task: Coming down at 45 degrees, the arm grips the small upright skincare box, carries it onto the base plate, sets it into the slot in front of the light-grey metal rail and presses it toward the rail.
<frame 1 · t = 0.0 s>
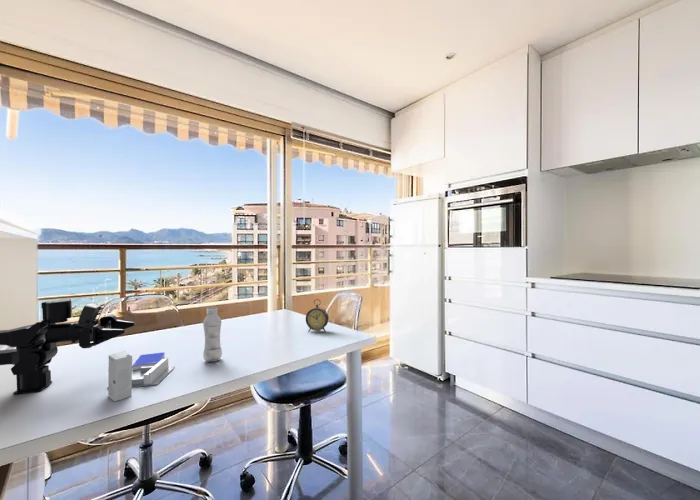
hand: (129, 327, 102), 17 cm above the table, tool horizontal, fingers open, 9 cm apart
hard drive: (149, 363, 114), on the table, touching rail base
alarm clock: (317, 331, 154), on the table
skincare box: (120, 396, 90), on the table
rail base: (142, 378, 101), on the table
plastic bottle: (212, 361, 117), on the table
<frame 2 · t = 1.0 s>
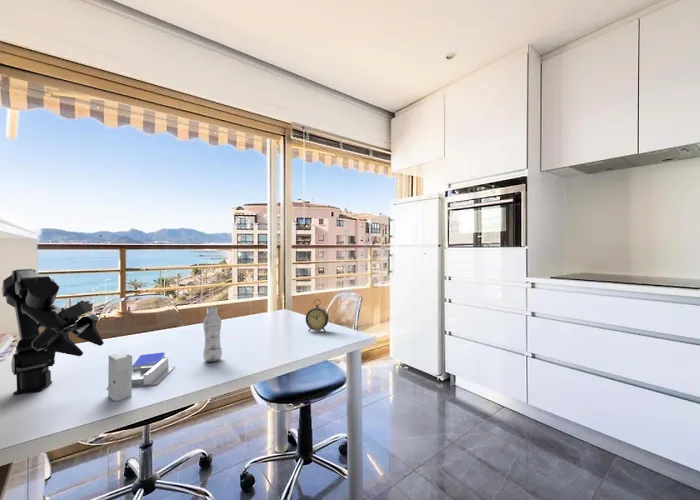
hand: (92, 349, 89), 14 cm above the table, tool tilted 45°, fingers open, 9 cm apart
nothing on the table moved.
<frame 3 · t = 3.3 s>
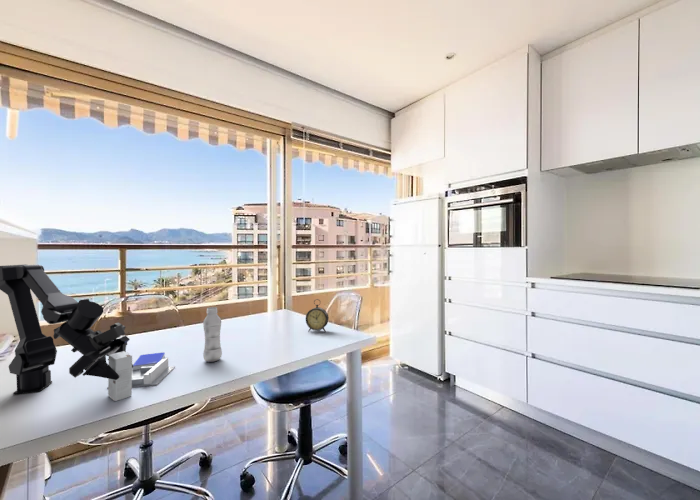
hand: (125, 373, 90), 7 cm above the table, tool tilted 45°, fingers closed on skincare box, 7 cm apart
skincare box: (120, 396, 90), on the table, touching gripper
everything else where it was.
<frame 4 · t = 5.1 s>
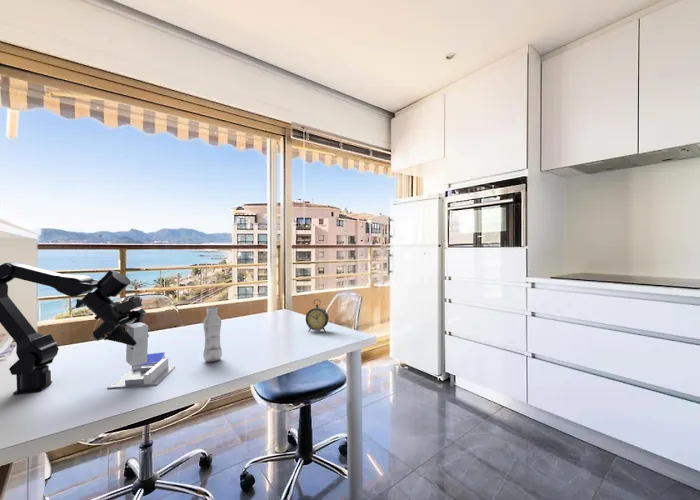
hand: (141, 341, 99), 13 cm above the table, tool tilted 45°, fingers closed on skincare box, 7 cm apart
skincare box: (137, 362, 99), point 6 cm above the table, touching gripper
everything else where it was.
when the fingers open (8 cm above the table, at t = 6.7 s): skincare box drops 1 cm, resting on rail base.
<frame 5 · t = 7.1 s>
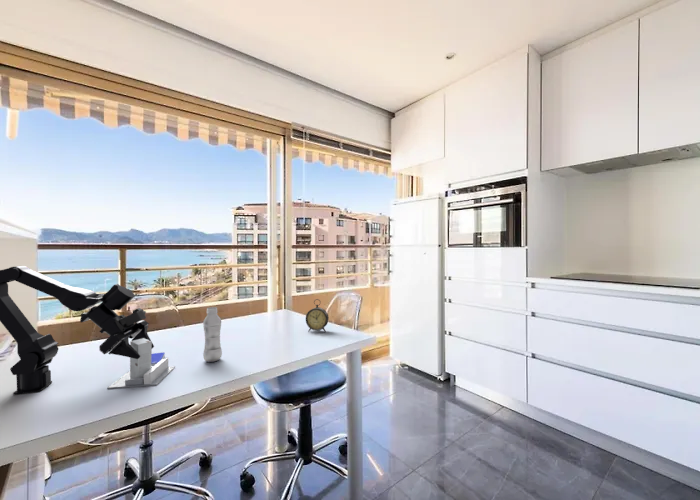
hand: (146, 352, 101), 9 cm above the table, tool tilted 45°, fingers open, 9 cm apart
skincare box: (141, 378, 101), resting on rail base
everything else where it was.
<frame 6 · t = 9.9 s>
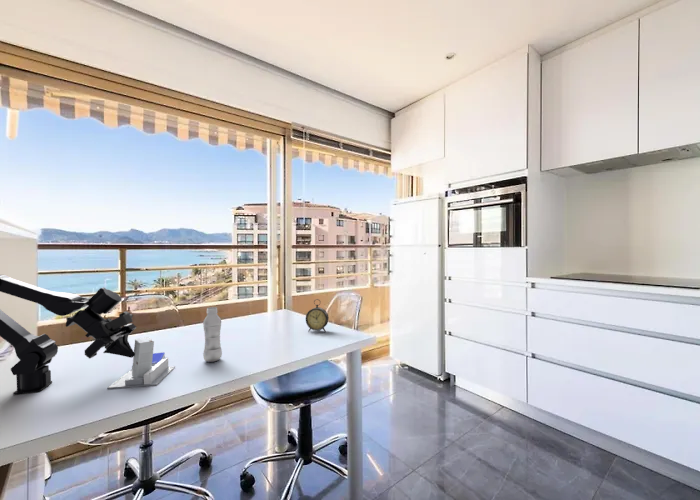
hand: (133, 356, 101), 8 cm above the table, tool tilted 45°, fingers closed
skincare box: (141, 377, 102), resting on rail base, touching gripper
everything else where it was.
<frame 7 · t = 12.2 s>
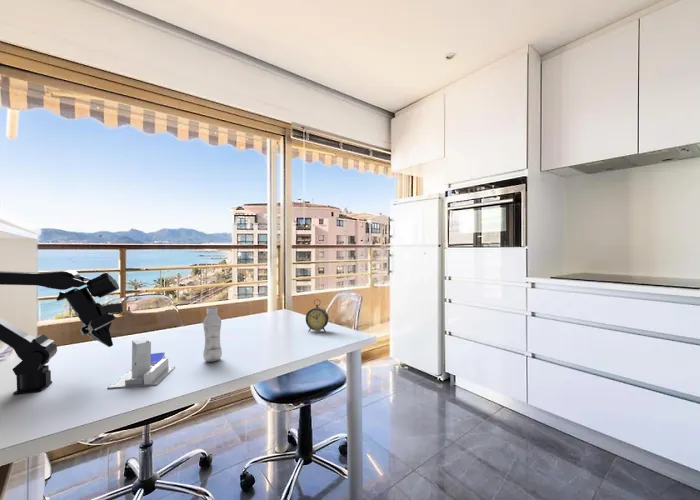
hand: (111, 346, 102), 11 cm above the table, tool tilted 25°, fingers closed
skincare box: (141, 377, 102), resting on rail base
everything else where it was.
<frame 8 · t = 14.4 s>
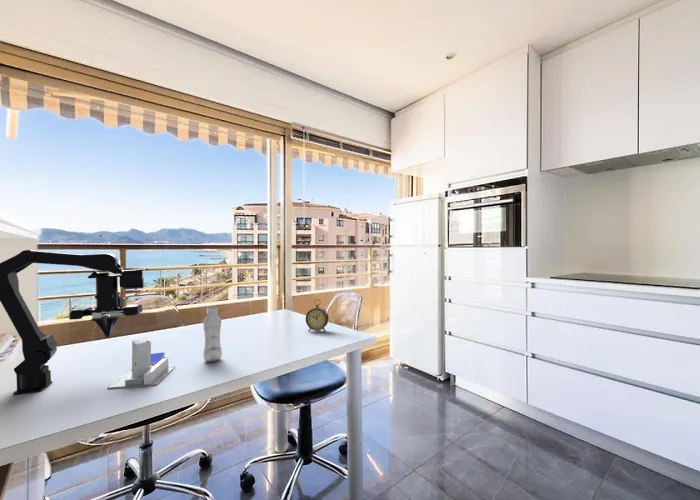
hand: (108, 336, 104), 13 cm above the table, tool pointing down, fingers closed
nothing on the table moved.
at the end: skincare box inside the target area on the rail base (0.6 cm from its centre), point 0.2 cm above the rail base's base; skincare box tilted 0°; skincare box touching rail base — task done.
